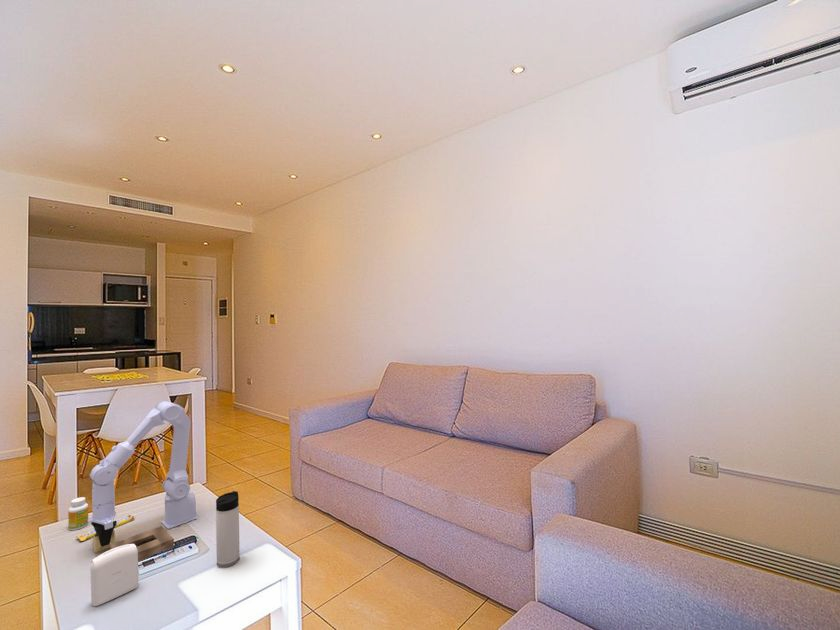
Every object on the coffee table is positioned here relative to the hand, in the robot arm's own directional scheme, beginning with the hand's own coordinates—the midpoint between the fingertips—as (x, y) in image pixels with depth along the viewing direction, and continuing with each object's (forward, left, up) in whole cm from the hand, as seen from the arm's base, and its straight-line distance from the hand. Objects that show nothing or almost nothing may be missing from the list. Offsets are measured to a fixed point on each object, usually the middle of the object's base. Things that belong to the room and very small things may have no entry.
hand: (104, 543), depth 127 cm
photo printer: (+3, +30, -2) cm, 30 cm away
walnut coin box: (-7, +14, -1) cm, 16 cm away
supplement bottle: (+3, -24, -2) cm, 24 cm away
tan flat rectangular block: (0, 0, -1) cm, 1 cm away
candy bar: (-3, -14, -2) cm, 14 cm away
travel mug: (-23, +39, -2) cm, 45 cm away
